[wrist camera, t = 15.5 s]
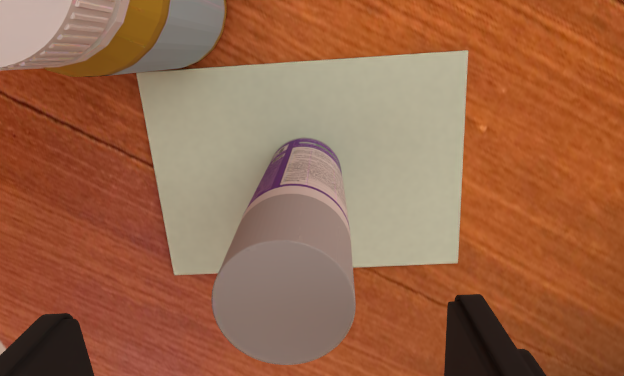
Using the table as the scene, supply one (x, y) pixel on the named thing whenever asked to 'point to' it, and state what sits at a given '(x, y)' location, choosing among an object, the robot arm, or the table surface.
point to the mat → (324, 127)
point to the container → (290, 261)
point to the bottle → (108, 35)
